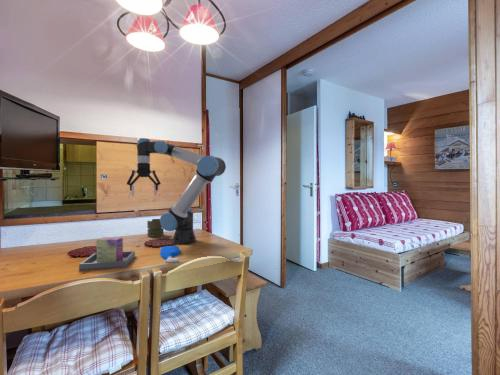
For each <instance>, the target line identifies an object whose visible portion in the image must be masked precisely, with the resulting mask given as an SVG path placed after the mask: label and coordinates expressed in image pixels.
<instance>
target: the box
mask: <svg viewBox="0 0 500 375" xmlns="http://www.w3.org/2000/svg"><path fill="white" fill-rule="evenodd" d="M123 242H124V238H123V237H108V236H107V237H106V236H105V237H100V238H98V239H96V253H97V262H113V261H122V260H123V252H124V247H123V246H124V243H123Z"/></svg>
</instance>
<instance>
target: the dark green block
mask: <svg viewBox="0 0 500 375" xmlns="http://www.w3.org/2000/svg"><path fill="white" fill-rule="evenodd" d="M146 222H147V238H150V239H151V238H153V239H154V238H160V237H161V238H163V237H164V233H165V232H164V230H165V229H163V228H162V226H161V223H160V218H153V219H151V220H147V221H146Z"/></svg>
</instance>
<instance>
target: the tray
mask: <svg viewBox="0 0 500 375" xmlns="http://www.w3.org/2000/svg"><path fill="white" fill-rule="evenodd" d="M135 256H136V251H135V250H132V251H131V250H129V251H128V250H127V251H123V260H122V261H113V262H97V252H94V253H93V254H91V255H90V256H88V257H87V258H86V259H84V260H83V261H81V262H80V263H78V270H79V271H80V272H81V271H92V270H93V271H94V270H111V269H123V268H125V269H126V268H127V267H128V266H129V264H131V262H132V261H133V259H134V258H135Z"/></svg>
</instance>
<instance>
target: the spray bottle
mask: <svg viewBox="0 0 500 375" xmlns="http://www.w3.org/2000/svg"><path fill="white" fill-rule="evenodd" d="M180 253H181V250H180V247H179V246H177V245H168V246H162V247H161V248H160V251H159V255H160V256H161V258H163V259H164V263H167V264H168V263H177V262H180V261H181V259H180V258H179V256H180ZM178 255H179V256H178ZM175 256H178V257H175ZM174 257H175V258H174Z"/></svg>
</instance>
